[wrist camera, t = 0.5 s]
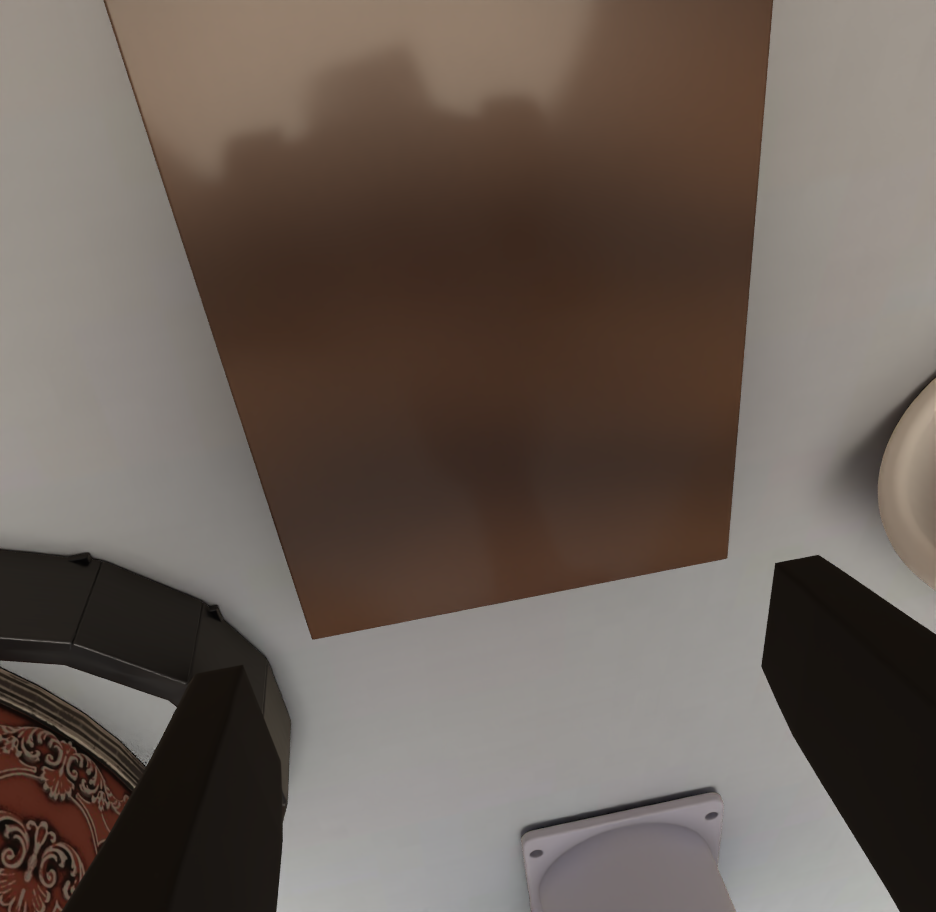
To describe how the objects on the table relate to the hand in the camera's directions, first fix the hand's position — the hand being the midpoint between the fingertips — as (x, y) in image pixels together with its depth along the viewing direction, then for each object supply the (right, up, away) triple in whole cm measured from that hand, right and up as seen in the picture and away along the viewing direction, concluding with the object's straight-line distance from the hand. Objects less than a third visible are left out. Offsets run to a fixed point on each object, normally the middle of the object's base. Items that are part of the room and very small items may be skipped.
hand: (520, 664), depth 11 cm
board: (-1, +8, +7) cm, 10 cm away
